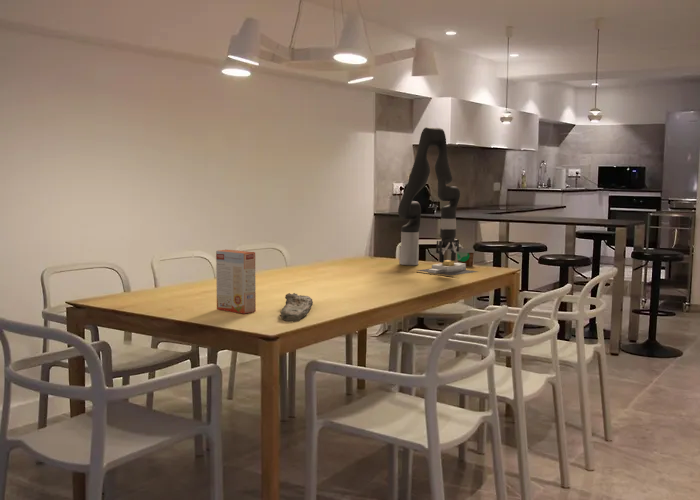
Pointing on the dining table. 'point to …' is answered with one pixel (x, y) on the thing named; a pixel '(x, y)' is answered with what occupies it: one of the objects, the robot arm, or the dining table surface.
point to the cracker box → (236, 281)
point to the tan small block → (447, 263)
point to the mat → (448, 273)
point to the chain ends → (447, 268)
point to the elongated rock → (296, 307)
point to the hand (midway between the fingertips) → (447, 261)
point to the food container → (465, 256)
